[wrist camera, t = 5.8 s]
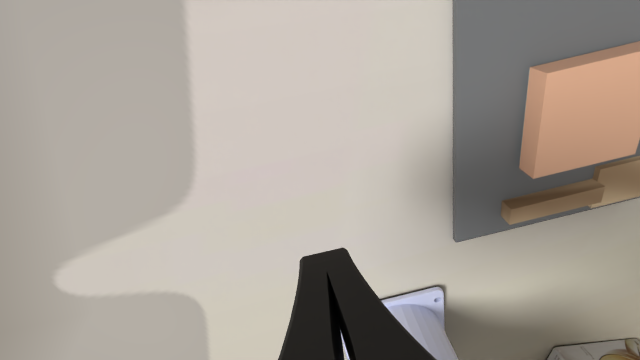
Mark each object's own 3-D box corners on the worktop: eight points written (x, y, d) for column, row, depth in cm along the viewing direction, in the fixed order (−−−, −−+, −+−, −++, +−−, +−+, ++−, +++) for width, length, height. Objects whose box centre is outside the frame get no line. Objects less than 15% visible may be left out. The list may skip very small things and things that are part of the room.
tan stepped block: (643, 190, 24) (657, 198, 23) (499, 226, 24) (508, 235, 23) (656, 151, 23) (672, 158, 22) (502, 189, 22) (512, 197, 22)
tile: (516, 165, 22) (611, 142, 22) (533, 178, 20) (634, 153, 20) (526, 65, 19) (637, 39, 19) (547, 73, 17) (667, 44, 17)
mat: (650, 190, 25) (655, 193, 24) (453, 238, 25) (456, 242, 24) (747, -97, 17) (757, -98, 16) (452, -28, 16) (456, -28, 16)
